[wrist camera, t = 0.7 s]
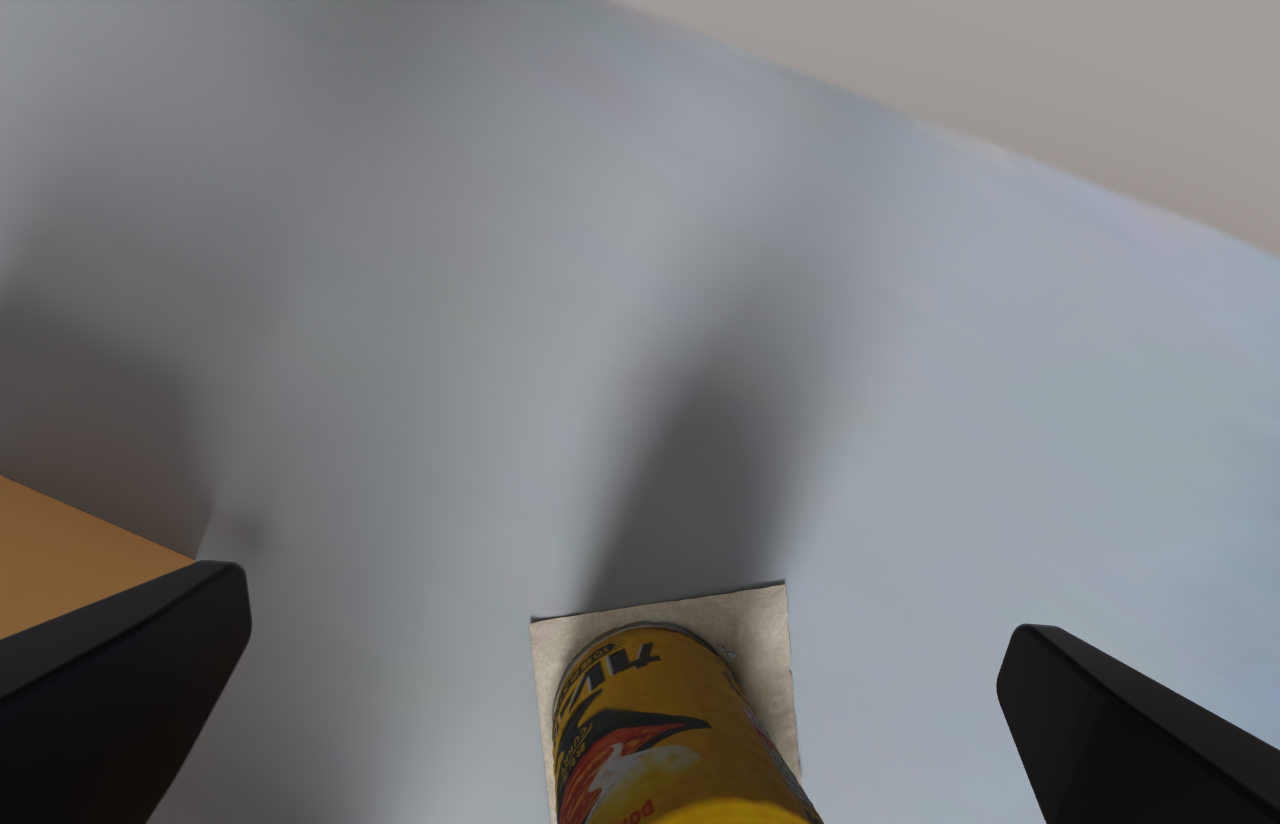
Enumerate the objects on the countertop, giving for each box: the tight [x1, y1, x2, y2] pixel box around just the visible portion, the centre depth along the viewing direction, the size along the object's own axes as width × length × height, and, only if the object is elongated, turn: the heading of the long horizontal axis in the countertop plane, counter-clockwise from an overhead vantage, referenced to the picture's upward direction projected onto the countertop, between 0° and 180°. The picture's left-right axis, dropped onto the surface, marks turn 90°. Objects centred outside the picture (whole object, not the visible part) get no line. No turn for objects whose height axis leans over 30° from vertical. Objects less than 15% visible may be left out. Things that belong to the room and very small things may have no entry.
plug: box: [0, 475, 196, 639], centre depth 16 cm, size 4×9×7 cm, turn 61°
